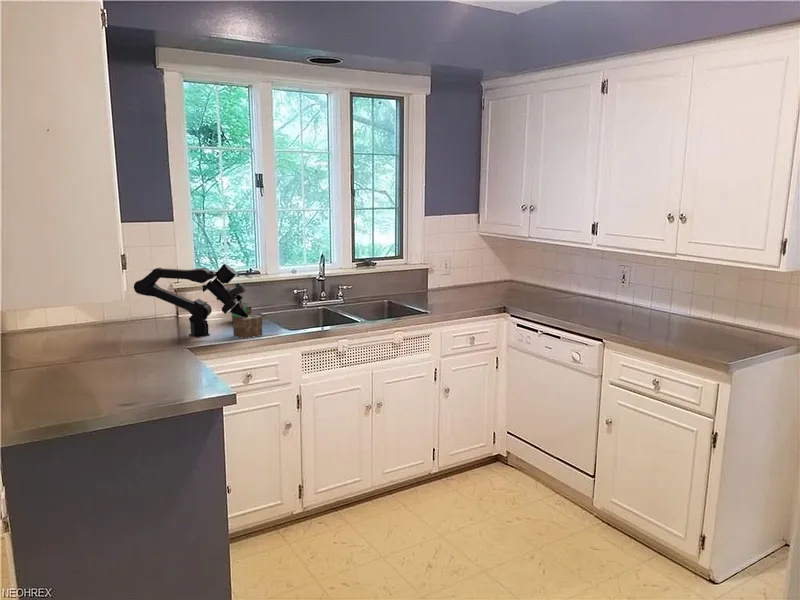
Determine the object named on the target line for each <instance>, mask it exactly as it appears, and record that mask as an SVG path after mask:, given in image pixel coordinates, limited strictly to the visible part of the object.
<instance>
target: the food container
mask: <svg viewBox="0 0 800 600" xmlns="http://www.w3.org/2000/svg"><path fill="white" fill-rule="evenodd" d="M242 306H243V308H244V309H245V311H246V312H247V314H248V315H250V314H251V315H252V307H253V303H252V301H249V302H243V301H242ZM238 316H240V315H237V314H234V313H231V321H232V322H233V317H238Z"/></svg>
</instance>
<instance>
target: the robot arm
mask: <svg viewBox="0 0 800 600" xmlns="http://www.w3.org/2000/svg"><path fill="white" fill-rule="evenodd" d="M236 276H237V271H236V270H235V269H234V268H233V267H231V266H229V265H227V264H226V263H223V264H222V265H221V267H220V268H219V269H218V270H217V271H213V270H210V269H209V268H208V267H207V268H206V267H202V268H201V267H200V268H193V269H179V268H178V269H177V268H162V267H155V268H154V269H153V270H151V272H149V273H148V274H147V275H145V276H144V277H143V278H142V279H140V280H137V281H135V282H134V284H133V290H134V292H135V293H136V294H138V295H142V296H146V297H155V298H157V299H159V300H162V301H164V302H167V303H169V304H171V305H174V306H177V307H179V308H181V309H183V310H186V311H187V312H188V313H190V315H191V316H190V317H188V320H189V324H190V326H189V327H190V333H189V334H188V336H190V337H193V336H194V338H201V337H200V336H202V337H207V336H211V334H210V333H209V323H208V320H207V319H208V317H209V316H210V315H211V314H212V311H213V309H212V307H211V305H210V304H209V303H208V301H204V300H202V299H200V298H197V299H196V300H190V299H188V298H185V297H184V296H181V295H178V294H176V293H173V292H172V291H169V290H167V289H164V288H162V287H160V286H159V285H158V284H157V282H159V280H160V279H172V280H173V279H175V280H187V281H191V282H193V283H198V284H203V285H202V292H203V293H205V292H206V291H207V290H208V291H209V292H210V293H211V294H212V295H213V296H214V297H216V298H215V299H216V300H217V301H220V302H221V303H222V304H223V306H222V307H221V312H223V314H225V315H226V314H227V313H231V314H232V313H234V314H237V315H240V316H243V317H246V318H247V317H248V316H249V315H248V314H247V312H246V311H245V309H244V308H243V306H242V302H243V298H244V297H245V296H244V295H243V293H245V292H246V291H247V290H246V288H245V285H244V284H243V283H240V282H238V283H236V284H235V287H234V288H231V287H227V286H225V284H227V285H228V284H229V283H230V282H231V281H232V280H233V279H234V278H235V277H236ZM212 279H213V280H212ZM206 282H207V283H206ZM204 283H206V284H204ZM206 335H207V336H206Z"/></svg>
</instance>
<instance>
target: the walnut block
mask: <svg viewBox="0 0 800 600" xmlns="http://www.w3.org/2000/svg"><path fill="white" fill-rule="evenodd" d="M249 316H250V317H253V318H247V319H245V318H241V317H243V316H238V317H233V321H232V325H233V327H232V328H233V331H232V333H233V337H236V336H238V337H237V338H240V337H243V338H242V339H244V338H246V339H249V338H248V337H251V338H254V337H253V336H256V337H259V336H258V335H261V336H263V317H262V316H259V315H254V314H252V313H251V314H250V315H249Z"/></svg>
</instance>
